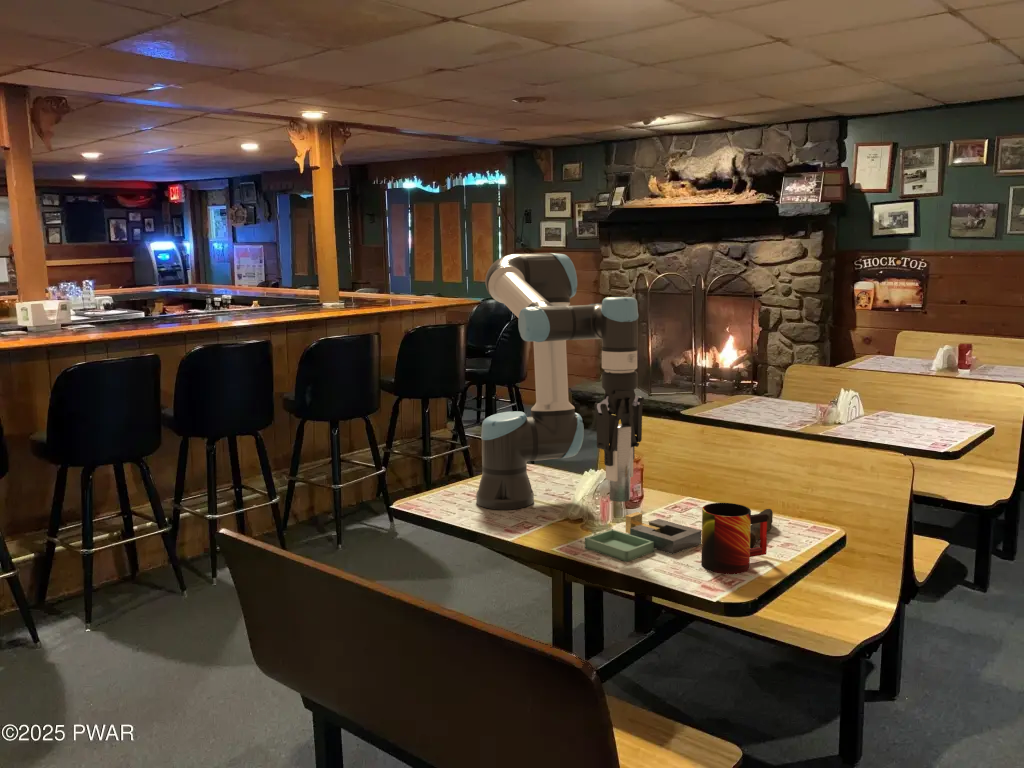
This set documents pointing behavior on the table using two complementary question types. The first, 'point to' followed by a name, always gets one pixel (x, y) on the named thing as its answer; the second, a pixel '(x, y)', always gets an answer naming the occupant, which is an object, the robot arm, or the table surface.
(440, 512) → the table surface
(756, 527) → the hand tool
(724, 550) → the mug
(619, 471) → the grey long rod
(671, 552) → the socket block
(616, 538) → the tray
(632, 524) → the tan wooden stepped block
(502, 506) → the robot arm
